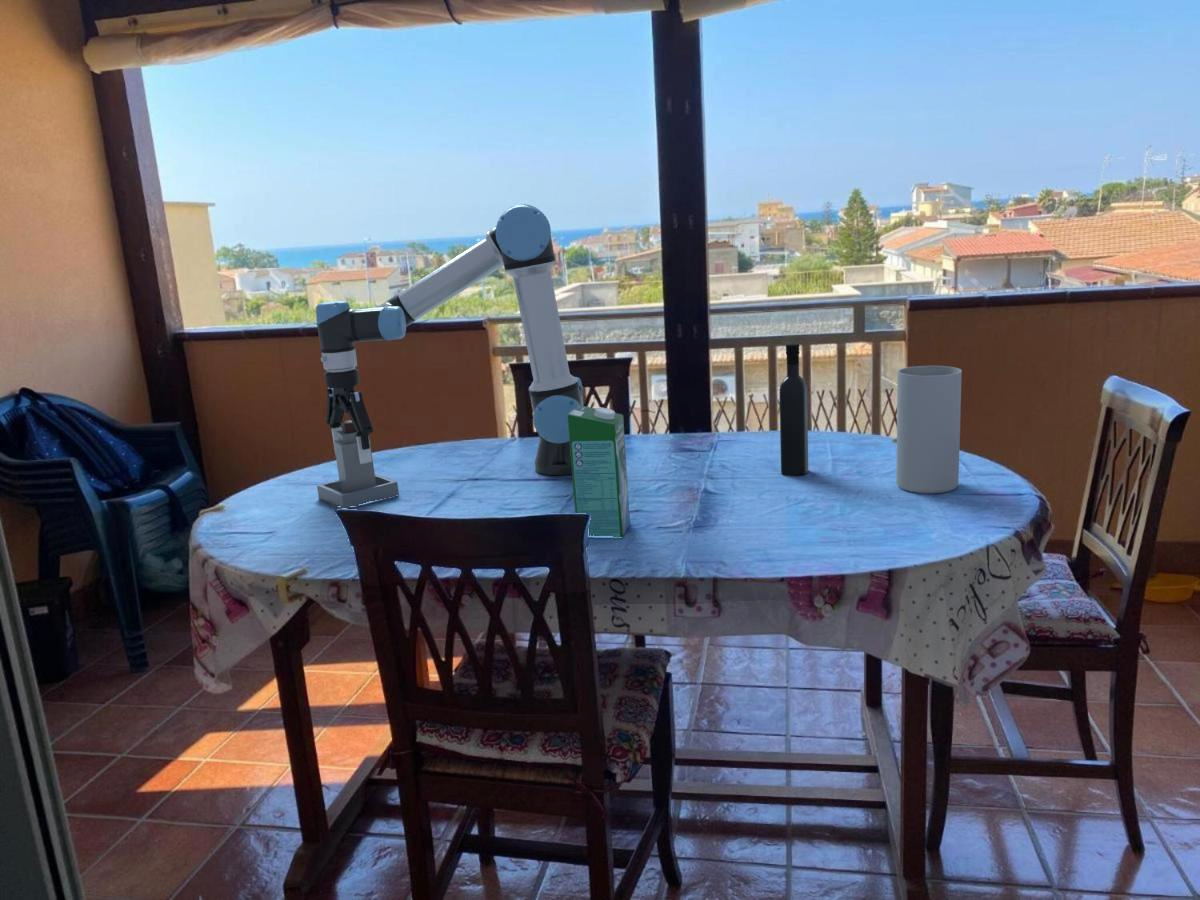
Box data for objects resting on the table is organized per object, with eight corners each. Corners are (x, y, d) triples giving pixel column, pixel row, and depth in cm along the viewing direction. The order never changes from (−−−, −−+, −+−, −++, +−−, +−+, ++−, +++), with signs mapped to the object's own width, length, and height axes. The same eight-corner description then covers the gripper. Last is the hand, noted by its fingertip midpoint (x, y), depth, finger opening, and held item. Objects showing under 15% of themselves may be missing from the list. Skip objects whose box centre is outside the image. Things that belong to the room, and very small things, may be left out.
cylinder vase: (967, 482, 194) (971, 367, 187) (943, 498, 185) (946, 377, 179) (911, 475, 202) (913, 364, 196) (886, 489, 193) (887, 374, 187)
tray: (399, 495, 214) (397, 481, 214) (343, 510, 206) (341, 495, 205) (372, 485, 225) (370, 472, 224) (319, 499, 216) (316, 485, 216)
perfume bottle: (349, 501, 211) (338, 426, 206) (341, 495, 216) (330, 422, 212) (377, 495, 214) (367, 421, 209) (369, 489, 220) (359, 417, 215)
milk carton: (622, 538, 175) (614, 412, 169) (577, 538, 176) (567, 413, 170) (630, 523, 183) (622, 402, 177) (586, 523, 185) (577, 404, 179)
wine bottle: (780, 475, 209) (777, 346, 202) (784, 468, 214) (782, 342, 207) (805, 476, 207) (803, 346, 199) (809, 469, 212) (807, 342, 205)
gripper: (303, 367, 215) (316, 453, 220) (348, 376, 196) (361, 470, 201) (333, 363, 220) (345, 447, 225) (380, 370, 201) (392, 462, 206)
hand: (353, 458), depth 213 cm, fingers open, 13 cm apart
